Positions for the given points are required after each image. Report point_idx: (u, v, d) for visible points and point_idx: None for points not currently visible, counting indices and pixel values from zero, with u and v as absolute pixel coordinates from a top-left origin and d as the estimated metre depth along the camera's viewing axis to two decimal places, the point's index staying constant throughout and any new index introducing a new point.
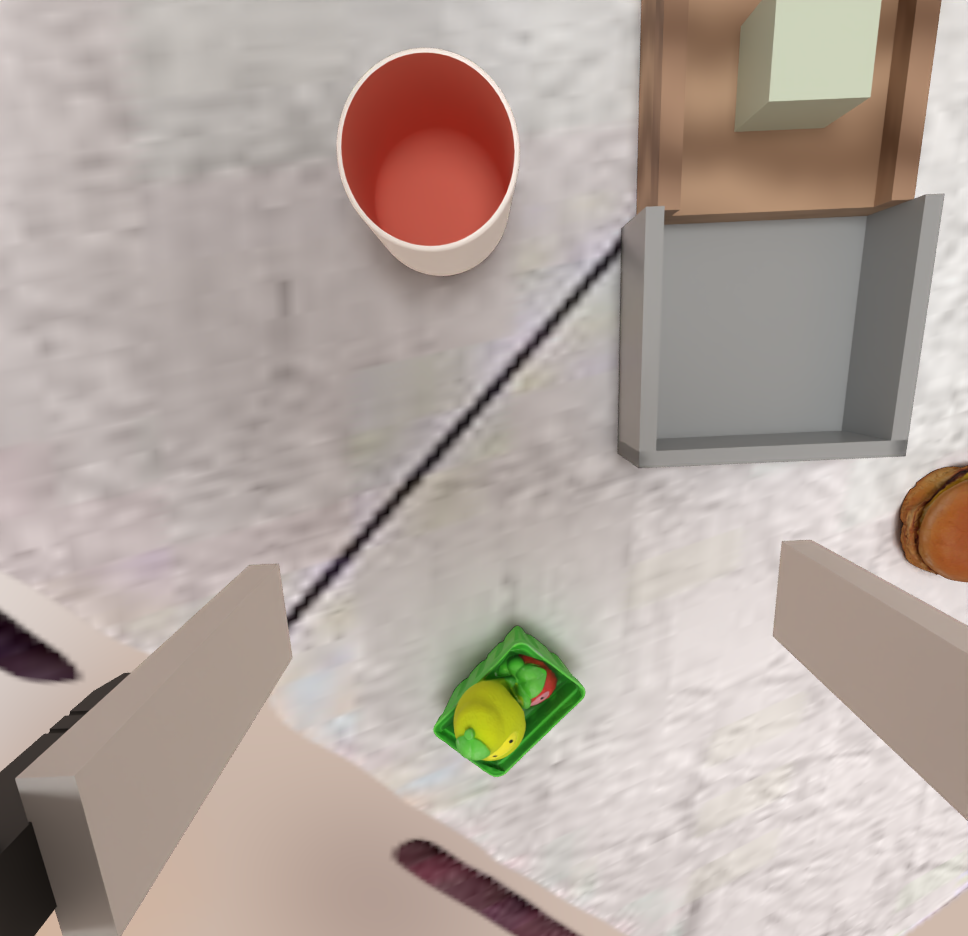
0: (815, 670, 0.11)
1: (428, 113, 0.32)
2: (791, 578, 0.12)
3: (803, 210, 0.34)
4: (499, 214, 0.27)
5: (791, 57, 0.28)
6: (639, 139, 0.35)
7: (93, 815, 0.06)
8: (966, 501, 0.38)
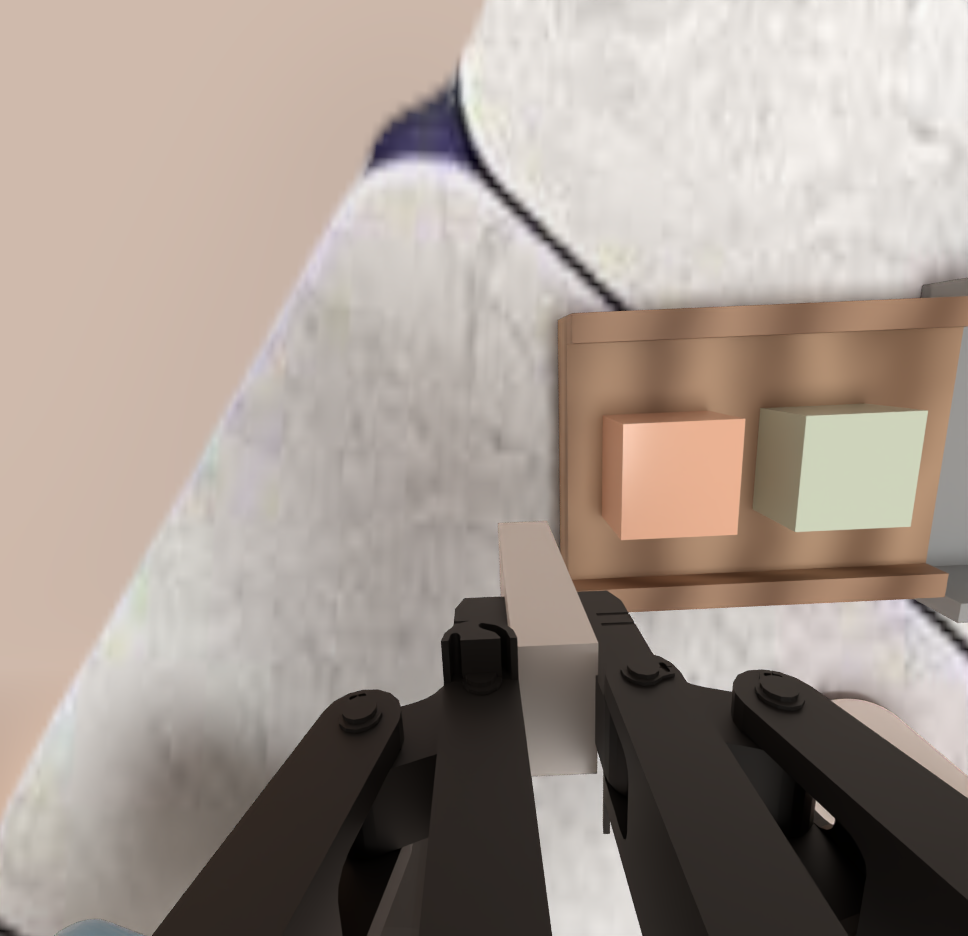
0: None
1: None
2: None
3: (947, 412, 0.28)
4: None
5: (870, 507, 0.25)
6: None
7: (556, 678, 0.09)
8: None
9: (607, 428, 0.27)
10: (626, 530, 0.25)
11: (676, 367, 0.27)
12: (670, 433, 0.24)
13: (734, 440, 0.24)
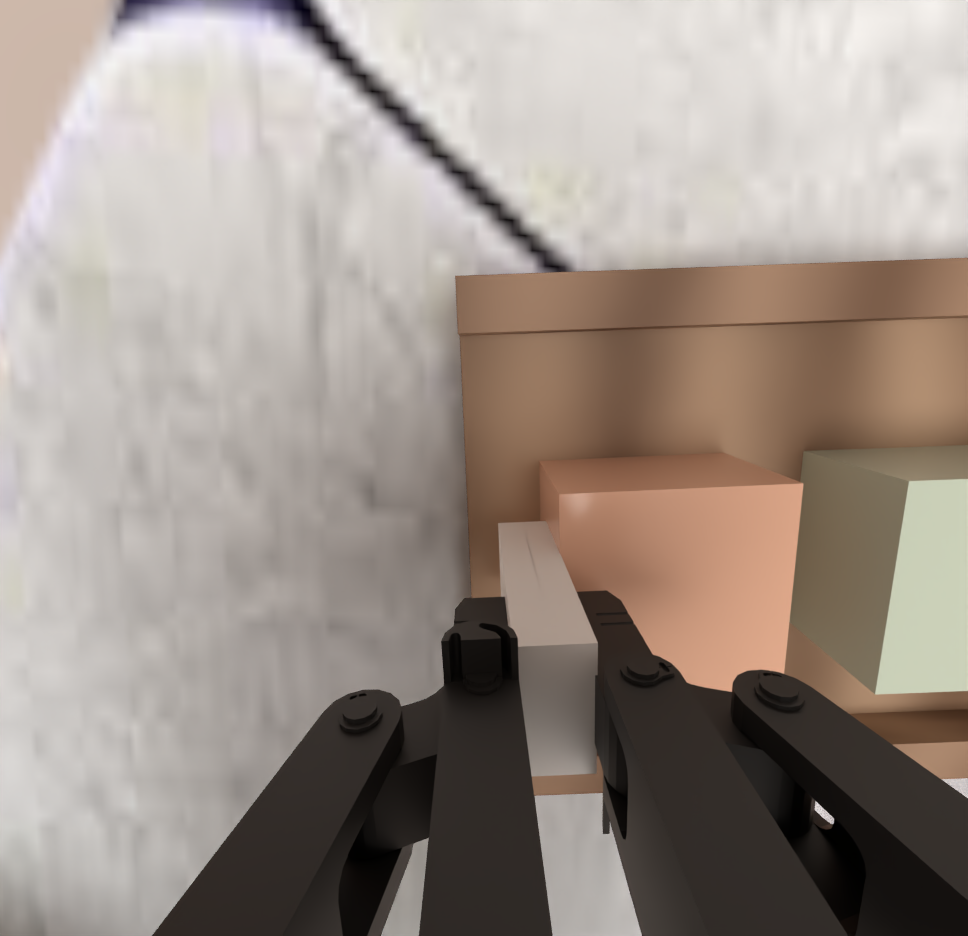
0: None
1: None
2: None
3: None
4: None
5: None
6: None
7: (556, 677, 0.09)
8: None
9: (543, 487, 0.15)
10: None
11: (656, 378, 0.15)
12: (654, 511, 0.12)
13: (780, 525, 0.12)
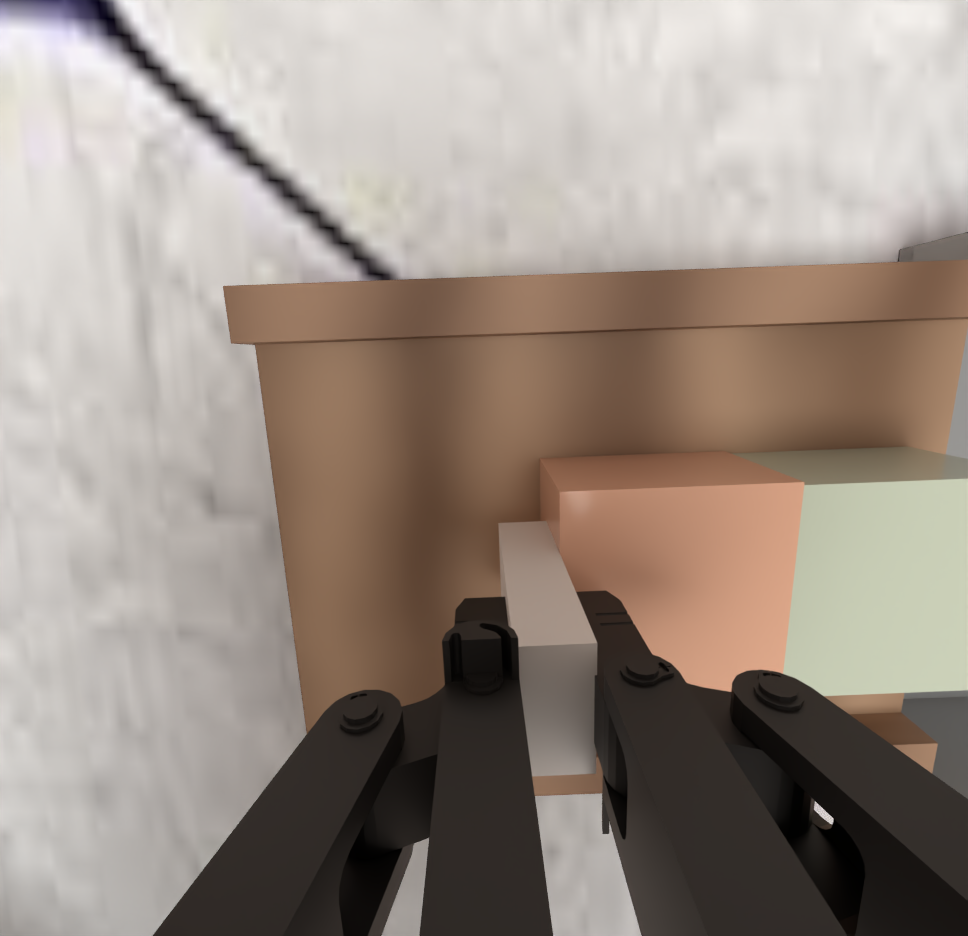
0: None
1: None
2: None
3: None
4: None
5: (924, 655, 0.13)
6: None
7: (557, 677, 0.09)
8: None
9: (544, 485, 0.15)
10: None
11: (456, 386, 0.15)
12: (654, 509, 0.12)
13: (781, 523, 0.12)
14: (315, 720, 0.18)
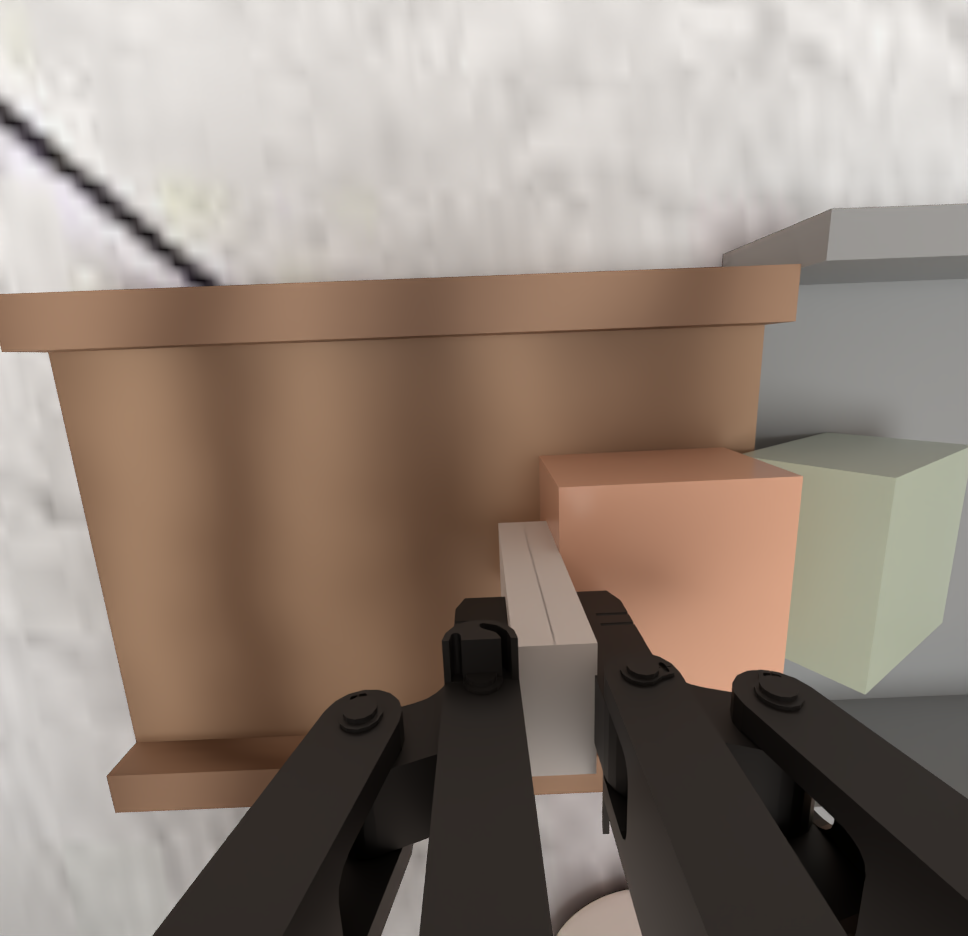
0: None
1: None
2: None
3: None
4: None
5: (922, 612, 0.15)
6: None
7: (556, 677, 0.09)
8: None
9: (543, 482, 0.15)
10: None
11: (254, 393, 0.15)
12: (653, 505, 0.12)
13: (780, 518, 0.12)
14: (143, 727, 0.18)
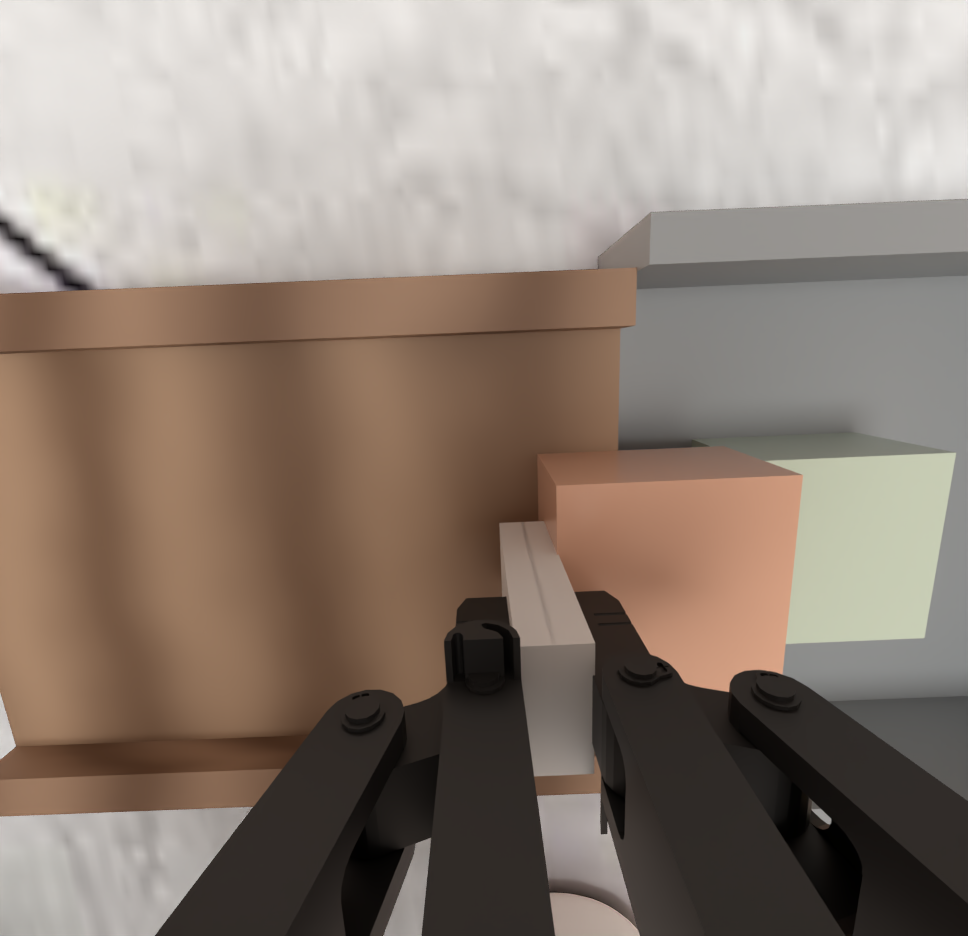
0: None
1: None
2: None
3: None
4: None
5: (858, 608, 0.15)
6: None
7: None
8: None
9: (541, 480, 0.15)
10: None
11: (110, 399, 0.15)
12: (652, 503, 0.12)
13: (779, 517, 0.12)
14: (22, 731, 0.18)
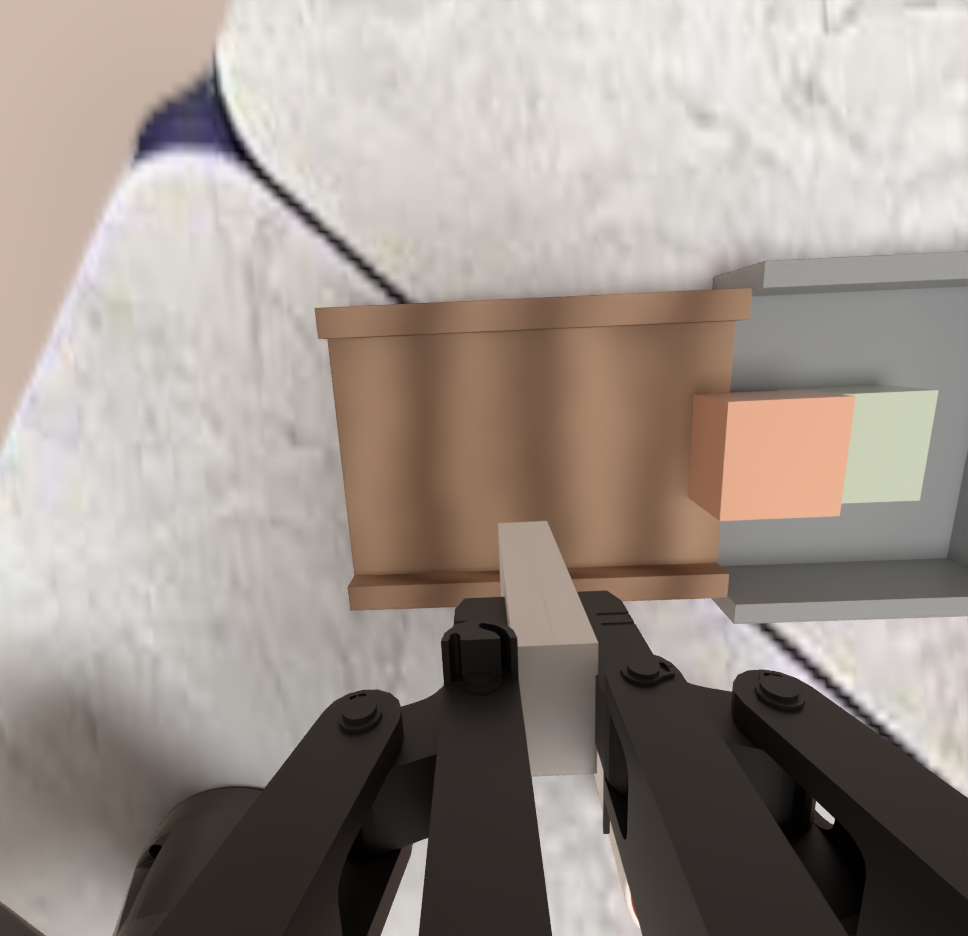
0: None
1: None
2: None
3: None
4: None
5: (881, 482, 0.27)
6: None
7: (556, 677, 0.09)
8: None
9: (701, 407, 0.26)
10: (725, 511, 0.25)
11: (441, 362, 0.27)
12: (777, 411, 0.23)
13: (842, 418, 0.24)
14: (359, 566, 0.30)
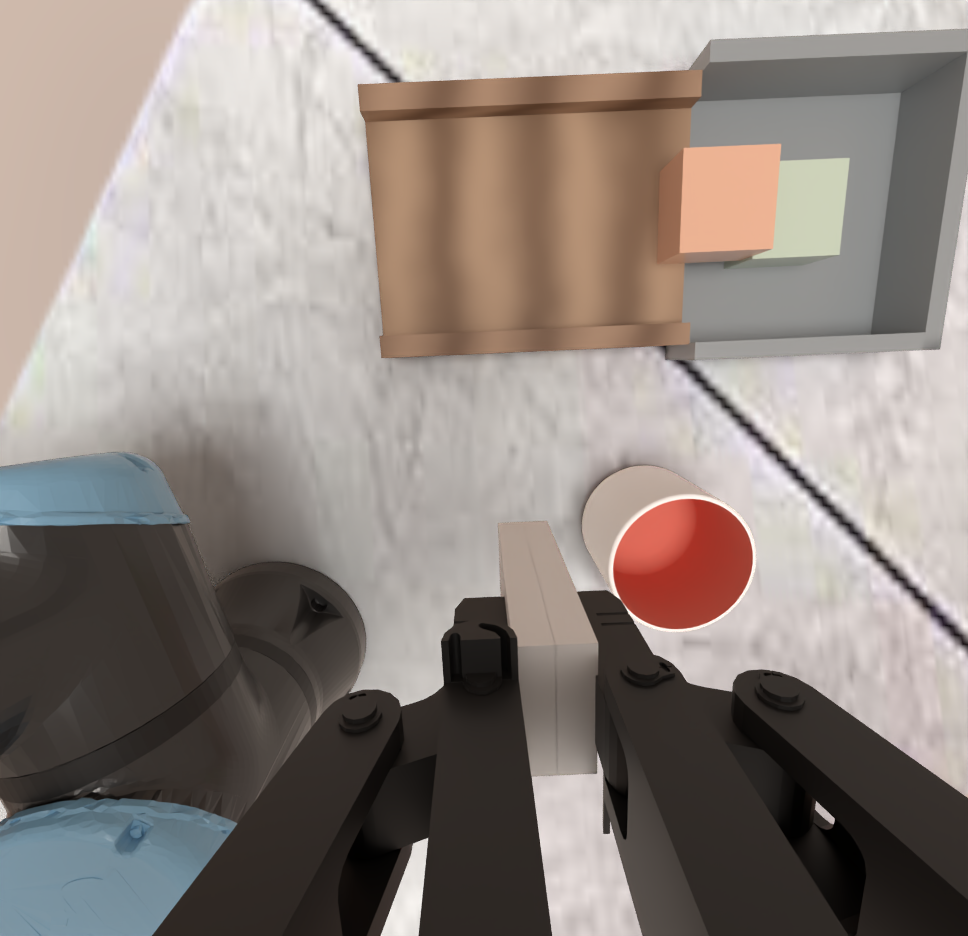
0: None
1: None
2: None
3: None
4: (733, 509, 0.32)
5: (808, 238, 0.34)
6: None
7: (556, 678, 0.09)
8: None
9: (665, 176, 0.33)
10: (684, 244, 0.31)
11: (456, 143, 0.33)
12: (721, 156, 0.30)
13: (772, 163, 0.30)
14: (387, 327, 0.36)
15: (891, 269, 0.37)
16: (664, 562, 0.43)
